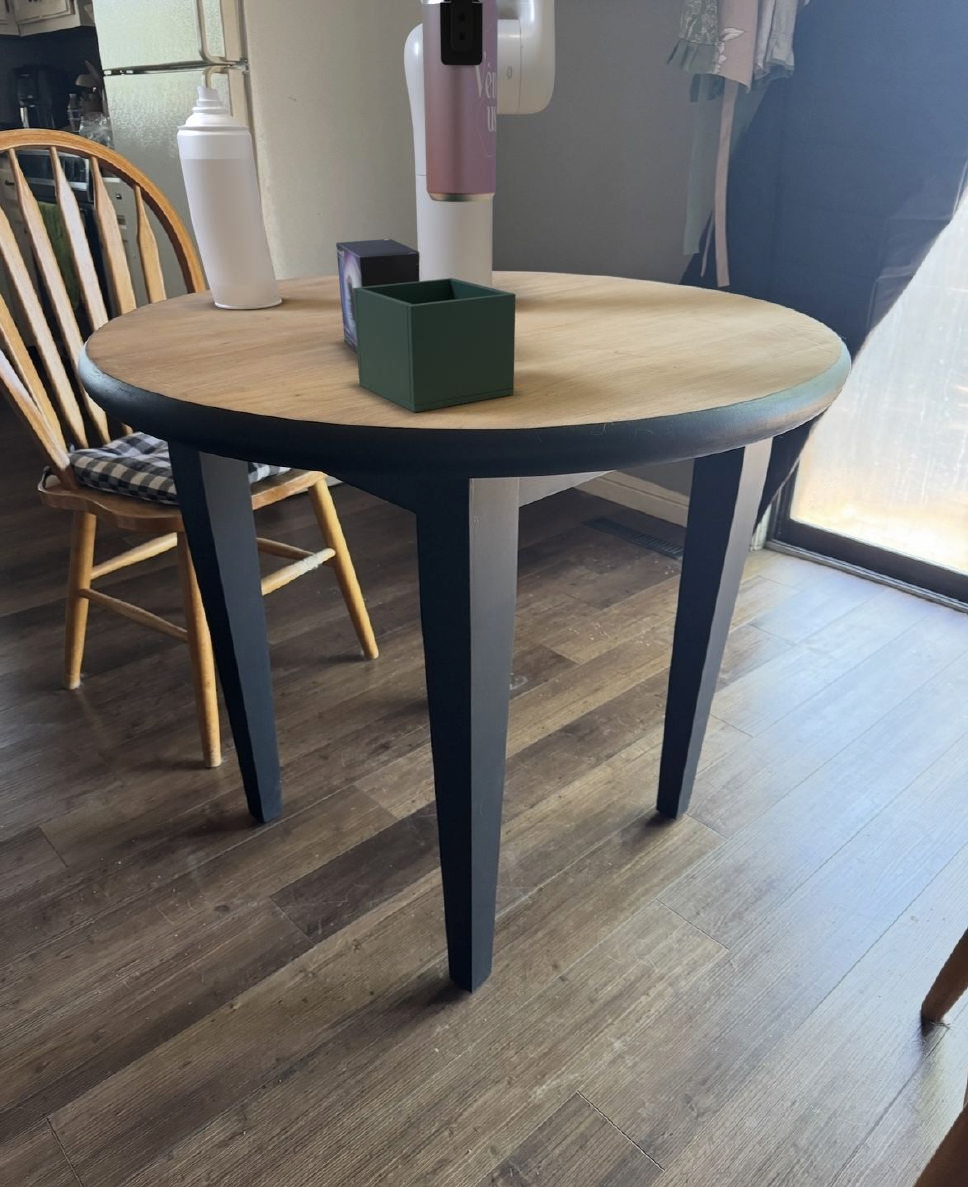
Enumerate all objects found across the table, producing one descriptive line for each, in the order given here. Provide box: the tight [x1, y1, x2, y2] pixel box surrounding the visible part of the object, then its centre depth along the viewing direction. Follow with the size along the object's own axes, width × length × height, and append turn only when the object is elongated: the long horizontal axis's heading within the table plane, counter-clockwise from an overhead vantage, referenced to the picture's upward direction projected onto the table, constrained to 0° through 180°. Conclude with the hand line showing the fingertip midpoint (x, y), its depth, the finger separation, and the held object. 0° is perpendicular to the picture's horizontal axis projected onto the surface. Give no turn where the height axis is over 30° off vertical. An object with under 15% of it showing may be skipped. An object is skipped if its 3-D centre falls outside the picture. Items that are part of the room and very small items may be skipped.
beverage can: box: [421, 0, 499, 202], centre depth 72 cm, size 6×6×15 cm
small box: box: [335, 238, 420, 355], centre depth 90 cm, size 11×6×10 cm, turn 21°
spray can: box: [176, 84, 283, 310], centre depth 109 cm, size 12×11×25 cm
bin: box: [353, 278, 516, 413], centre depth 77 cm, size 10×10×9 cm
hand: (459, 64), depth 70 cm, fingers closed on beverage can, 6 cm apart
